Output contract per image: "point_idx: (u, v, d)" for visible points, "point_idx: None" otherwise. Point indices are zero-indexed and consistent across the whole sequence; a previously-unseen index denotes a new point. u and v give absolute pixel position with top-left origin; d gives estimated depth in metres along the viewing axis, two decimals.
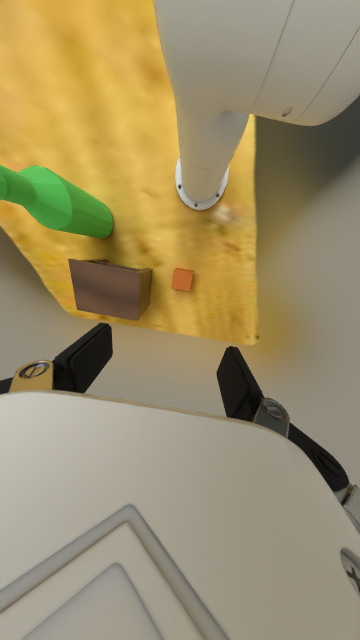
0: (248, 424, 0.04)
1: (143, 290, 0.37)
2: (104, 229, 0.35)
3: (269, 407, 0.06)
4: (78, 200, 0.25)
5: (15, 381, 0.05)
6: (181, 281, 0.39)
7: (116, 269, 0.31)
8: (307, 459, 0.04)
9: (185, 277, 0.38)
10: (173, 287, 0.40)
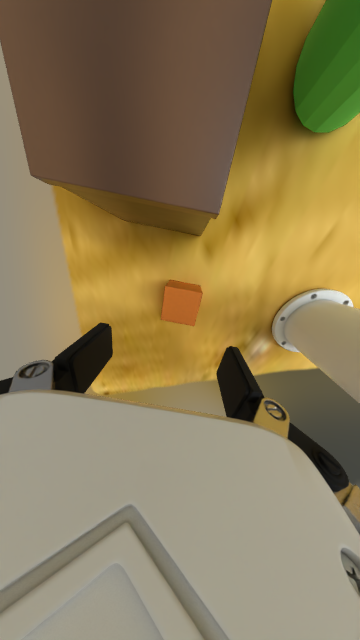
0: (248, 424, 0.04)
1: (156, 213, 0.13)
2: (331, 83, 0.11)
3: (269, 407, 0.06)
4: None
5: (15, 381, 0.05)
6: (179, 306, 0.20)
7: (248, 78, 0.07)
8: (307, 459, 0.04)
9: (187, 312, 0.20)
10: (167, 289, 0.19)
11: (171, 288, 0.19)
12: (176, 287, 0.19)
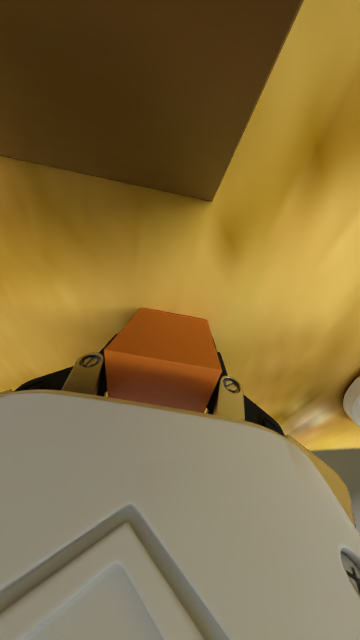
0: (248, 424, 0.04)
1: None
2: None
3: (227, 384, 0.07)
4: None
5: (78, 369, 0.06)
6: (153, 396, 0.07)
7: None
8: (307, 459, 0.04)
9: None
10: (111, 359, 0.06)
11: (124, 356, 0.06)
12: (142, 350, 0.06)
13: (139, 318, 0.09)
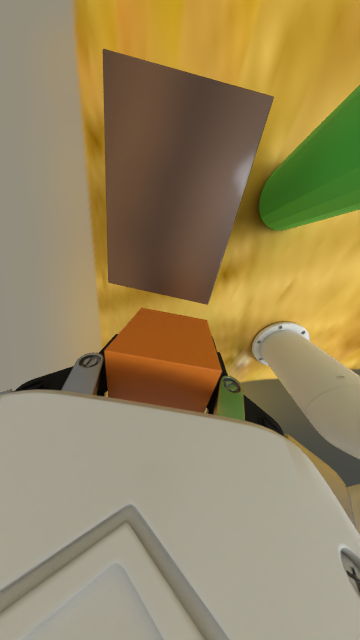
0: (248, 424, 0.04)
1: None
2: (276, 218, 0.19)
3: (227, 384, 0.07)
4: None
5: (79, 369, 0.06)
6: (153, 396, 0.07)
7: (220, 257, 0.14)
8: (307, 459, 0.04)
9: None
10: (111, 359, 0.06)
11: (124, 357, 0.06)
12: (142, 350, 0.06)
13: (139, 318, 0.09)
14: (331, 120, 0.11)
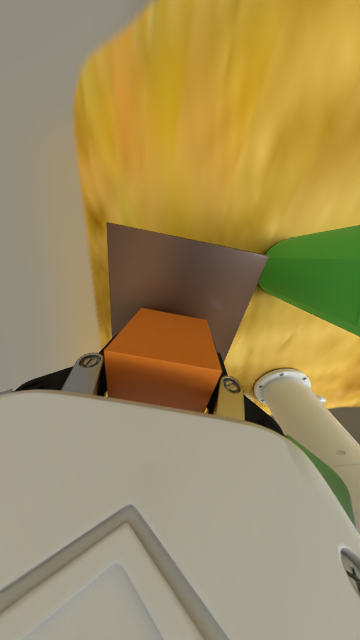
0: (248, 424, 0.04)
1: None
2: (275, 295, 0.20)
3: (227, 384, 0.07)
4: None
5: (78, 369, 0.06)
6: (153, 396, 0.07)
7: None
8: (307, 459, 0.04)
9: None
10: (111, 359, 0.06)
11: (124, 357, 0.06)
12: (142, 350, 0.06)
13: (139, 318, 0.09)
14: (325, 260, 0.11)
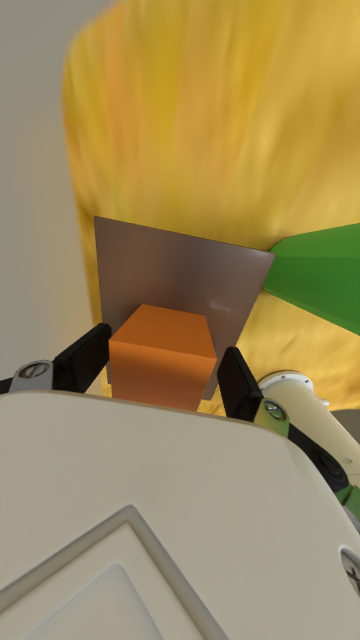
0: (248, 424, 0.04)
1: None
2: (278, 296, 0.19)
3: (269, 407, 0.06)
4: None
5: (15, 381, 0.05)
6: (154, 384, 0.08)
7: None
8: (307, 459, 0.04)
9: (175, 397, 0.08)
10: (115, 349, 0.07)
11: (127, 346, 0.07)
12: (143, 340, 0.07)
13: (140, 313, 0.10)
14: (336, 258, 0.10)
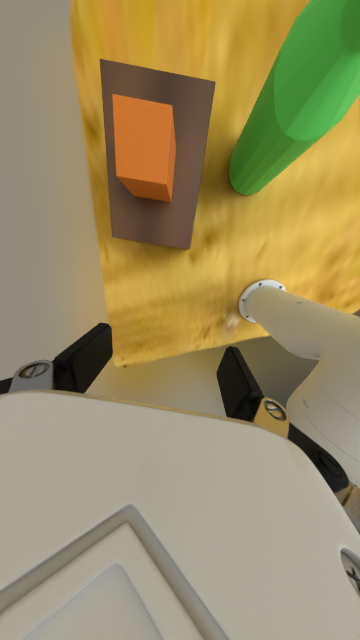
0: (248, 424, 0.04)
1: None
2: (241, 181, 0.24)
3: (269, 407, 0.06)
4: (295, 153, 0.16)
5: (15, 381, 0.05)
6: (139, 141, 0.13)
7: (194, 206, 0.19)
8: (307, 459, 0.04)
9: (153, 154, 0.13)
10: (116, 102, 0.12)
11: (122, 99, 0.12)
12: None
13: None
14: (259, 95, 0.16)
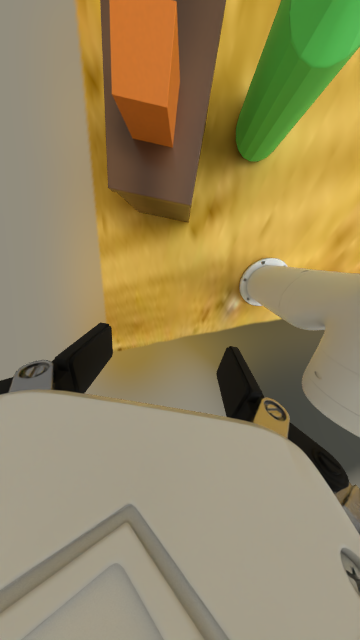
0: (248, 424, 0.04)
1: (162, 206, 0.24)
2: (249, 141, 0.23)
3: (269, 407, 0.06)
4: (309, 90, 0.15)
5: (15, 381, 0.05)
6: (138, 48, 0.12)
7: (197, 154, 0.18)
8: (307, 459, 0.04)
9: (153, 67, 0.12)
10: None
11: None
12: None
13: None
14: (273, 22, 0.14)
